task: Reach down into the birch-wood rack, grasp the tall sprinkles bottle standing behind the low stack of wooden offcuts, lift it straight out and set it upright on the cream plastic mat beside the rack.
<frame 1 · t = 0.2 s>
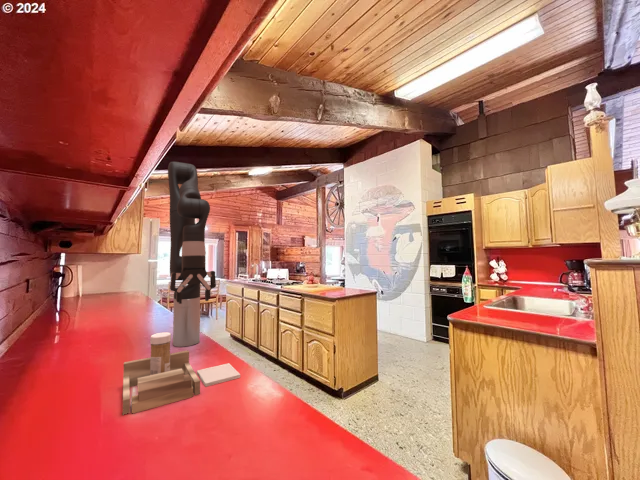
hand: (193, 302, 95), 17 cm above the countertop, tool pointing down, fingers open, 8 cm apart
cream mat: (218, 375, 77), on the countertop
sprinkles bottle: (159, 389, 70), resting in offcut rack
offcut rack: (159, 388, 70), on the countertop
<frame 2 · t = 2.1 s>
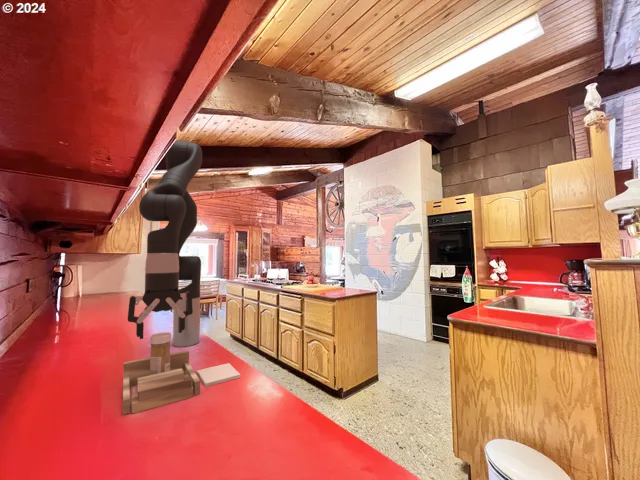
hand: (161, 335, 70), 13 cm above the countertop, tool pointing down, fingers open, 8 cm apart
nothing on the countertop moved.
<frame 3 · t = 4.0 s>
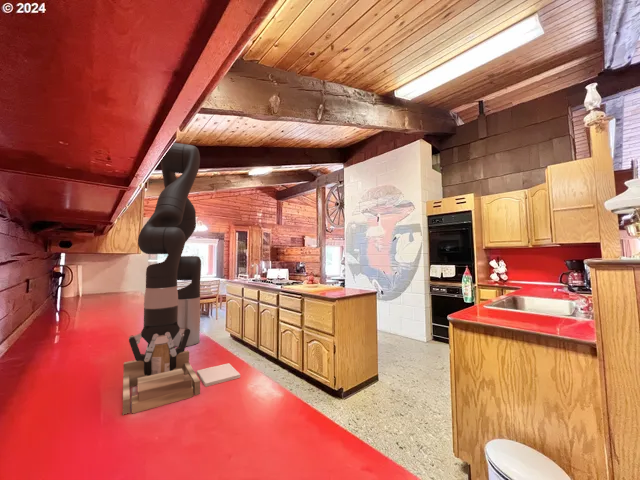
hand: (160, 372, 70), 4 cm above the countertop, tool pointing down, fingers closed on sprinkles bottle, 4 cm apart
sprinkles bottle: (159, 389, 70), resting in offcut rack, touching gripper
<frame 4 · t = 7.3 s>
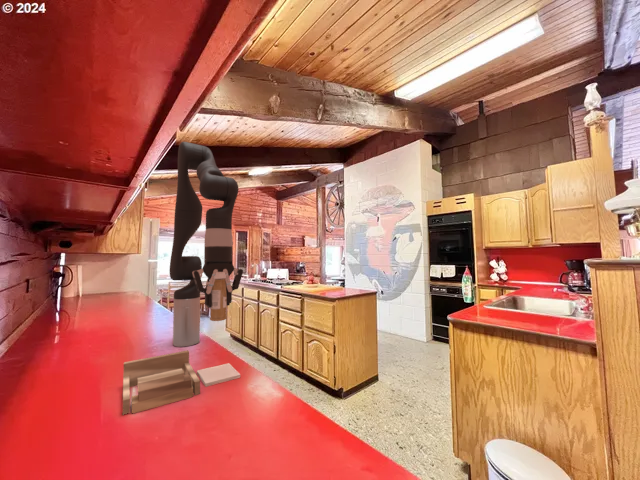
hand: (218, 305, 78), 19 cm above the countertop, tool pointing down, fingers closed on sprinkles bottle, 4 cm apart
sprinkles bottle: (218, 320, 78), point 15 cm above the countertop, touching gripper
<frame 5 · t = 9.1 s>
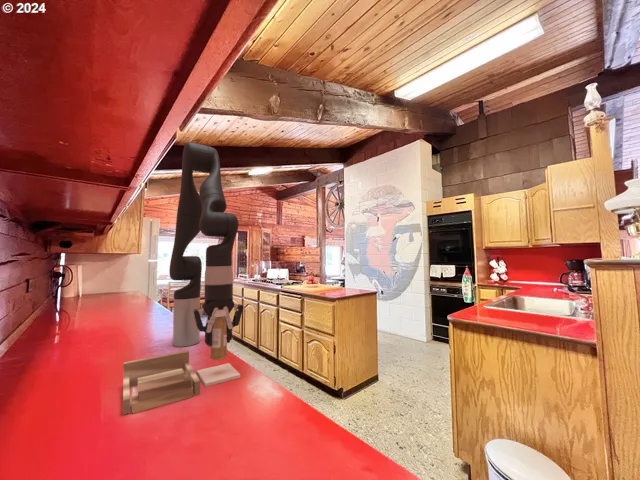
hand: (218, 343, 77), 9 cm above the countertop, tool pointing down, fingers closed on sprinkles bottle, 4 cm apart
sprinkles bottle: (218, 358, 77), point 5 cm above the countertop, touching gripper
when the fingers open (5 cm above the countertop, at t = 10.6 s): sprinkles bottle stays where it is, resting on cream mat.
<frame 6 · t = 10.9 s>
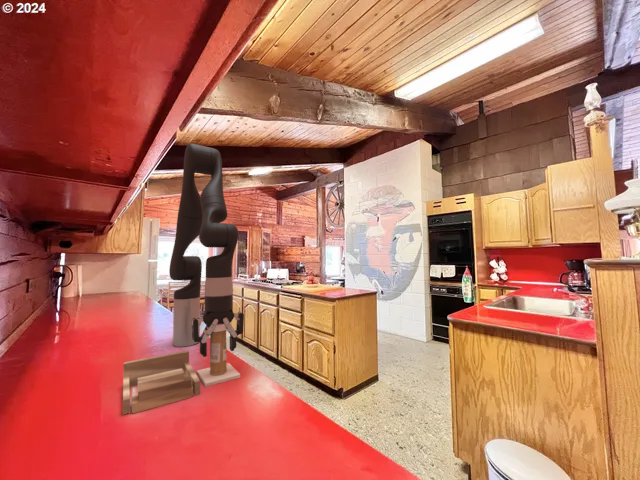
hand: (218, 353, 77), 6 cm above the countertop, tool pointing down, fingers open, 7 cm apart
sprinkles bottle: (218, 373, 77), point 1 cm above the countertop, touching cream mat
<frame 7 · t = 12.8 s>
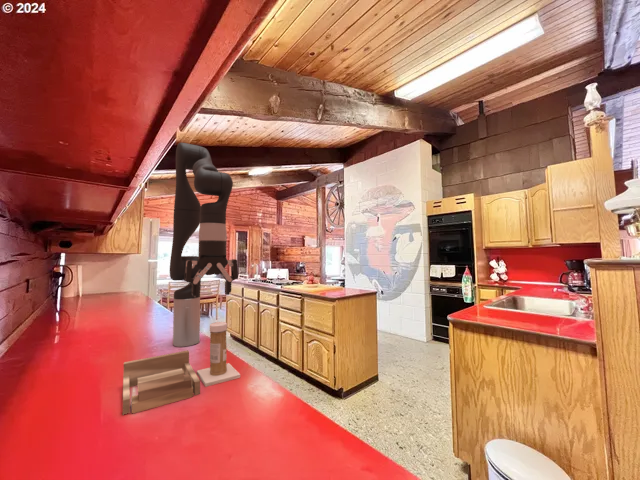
hand: (211, 295, 80), 22 cm above the countertop, tool pointing down, fingers open, 8 cm apart
nothing on the countertop moved.
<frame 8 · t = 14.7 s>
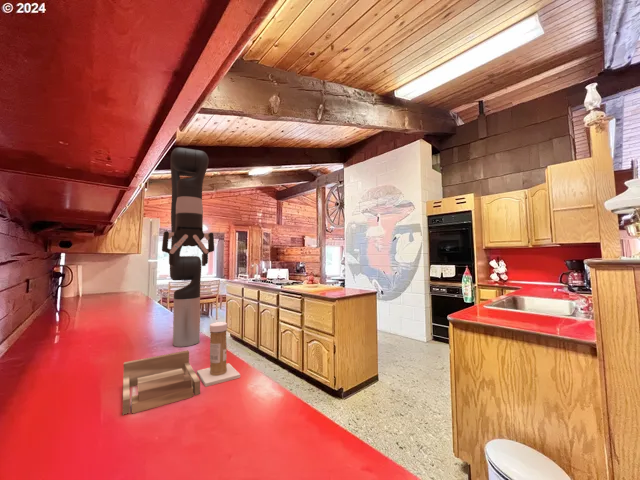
hand: (188, 266, 84), 30 cm above the countertop, tool pointing down, fingers open, 8 cm apart
nothing on the countertop moved.
at the end: sprinkles bottle inside the target area on the cream mat (0.1 cm from its centre), point 0.6 cm above the cream mat's base; sprinkles bottle tilted 0°; the gripper is holding nothing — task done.
